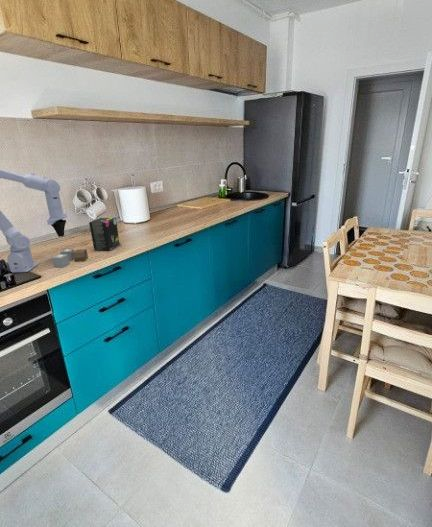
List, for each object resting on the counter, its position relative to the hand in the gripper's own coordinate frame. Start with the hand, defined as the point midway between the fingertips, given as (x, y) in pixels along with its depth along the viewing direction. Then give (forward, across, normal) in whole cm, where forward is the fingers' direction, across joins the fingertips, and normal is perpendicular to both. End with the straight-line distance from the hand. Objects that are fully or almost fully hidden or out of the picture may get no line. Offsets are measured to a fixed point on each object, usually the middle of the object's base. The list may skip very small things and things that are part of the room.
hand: (61, 236), depth 145 cm
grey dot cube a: (+10, -3, -3) cm, 11 cm away
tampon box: (+11, +13, -16) cm, 23 cm away
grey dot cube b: (+10, -11, -3) cm, 16 cm away
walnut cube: (+10, -5, -9) cm, 15 cm away
